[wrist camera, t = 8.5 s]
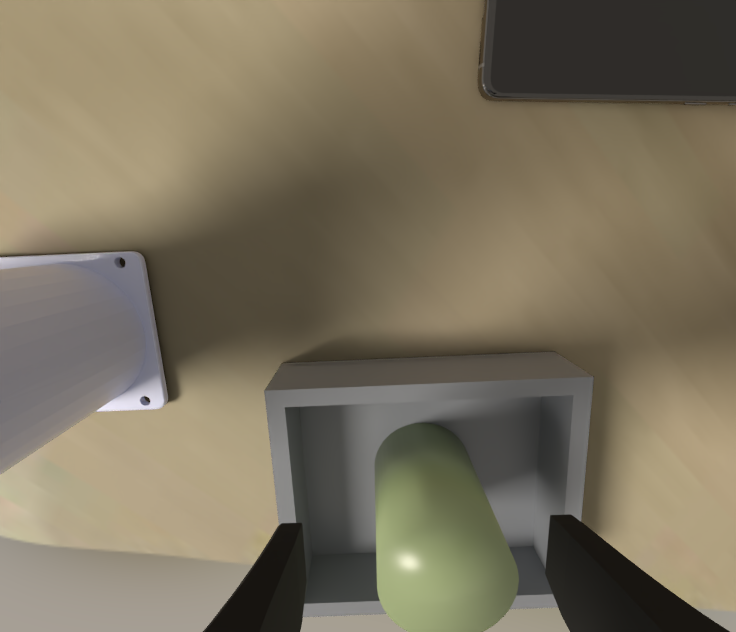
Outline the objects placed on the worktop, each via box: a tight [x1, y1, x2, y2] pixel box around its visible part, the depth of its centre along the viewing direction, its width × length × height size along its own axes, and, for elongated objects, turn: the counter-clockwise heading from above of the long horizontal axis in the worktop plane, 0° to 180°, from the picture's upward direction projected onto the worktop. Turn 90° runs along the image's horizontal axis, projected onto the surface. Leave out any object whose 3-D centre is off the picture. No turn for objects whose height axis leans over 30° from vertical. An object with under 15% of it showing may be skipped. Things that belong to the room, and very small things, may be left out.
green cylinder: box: [375, 423, 519, 632], centre depth 17 cm, size 5×5×7 cm
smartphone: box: [478, 0, 736, 106], centre depth 16 cm, size 7×1×16 cm
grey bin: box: [264, 351, 594, 617], centre depth 19 cm, size 14×12×4 cm
